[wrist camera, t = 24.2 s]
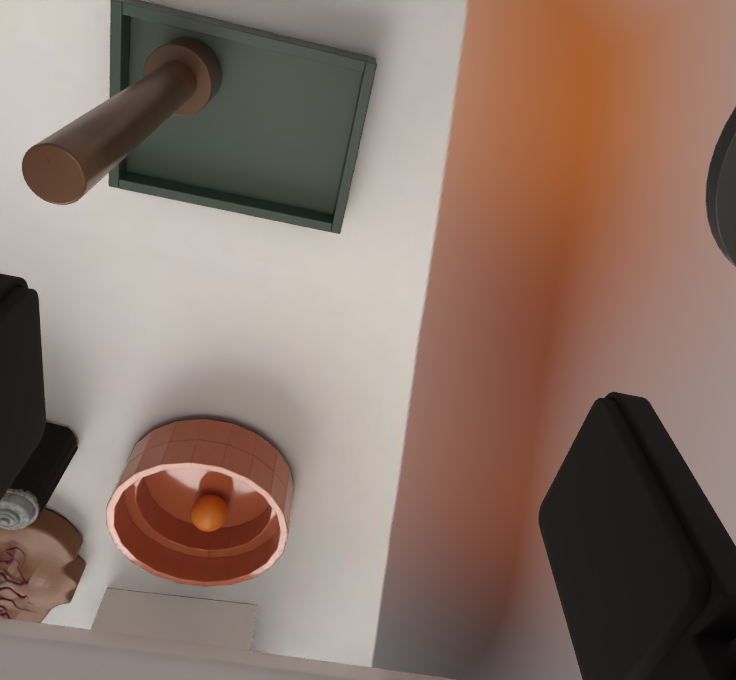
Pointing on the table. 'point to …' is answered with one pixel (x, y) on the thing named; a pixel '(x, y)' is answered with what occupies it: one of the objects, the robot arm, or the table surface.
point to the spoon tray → (247, 120)
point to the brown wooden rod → (123, 121)
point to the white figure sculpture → (177, 618)
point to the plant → (38, 567)
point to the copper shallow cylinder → (185, 486)
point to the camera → (38, 477)
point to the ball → (209, 513)
